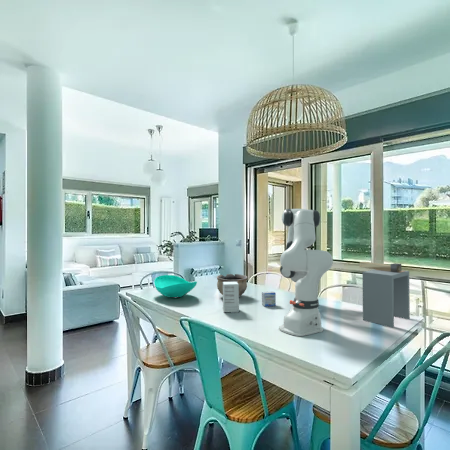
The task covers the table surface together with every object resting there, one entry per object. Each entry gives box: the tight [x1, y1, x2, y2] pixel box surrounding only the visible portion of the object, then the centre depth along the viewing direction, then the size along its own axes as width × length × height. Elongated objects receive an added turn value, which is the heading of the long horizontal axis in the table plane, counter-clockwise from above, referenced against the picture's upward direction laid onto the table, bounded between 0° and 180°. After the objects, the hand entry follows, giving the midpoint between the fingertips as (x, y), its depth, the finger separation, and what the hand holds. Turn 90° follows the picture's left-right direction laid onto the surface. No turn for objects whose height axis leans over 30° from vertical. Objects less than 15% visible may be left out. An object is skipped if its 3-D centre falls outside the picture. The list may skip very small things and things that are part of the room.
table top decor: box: [153, 274, 198, 298], centre depth 218 cm, size 40×28×13 cm
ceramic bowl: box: [216, 273, 248, 297], centre depth 217 cm, size 22×22×15 cm
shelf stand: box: [362, 269, 411, 328], centre depth 163 cm, size 22×15×26 cm
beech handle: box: [359, 261, 402, 272], centre depth 170 cm, size 5×22×4 cm, turn 31°
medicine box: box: [261, 291, 277, 308], centre depth 193 cm, size 8×4×9 cm, turn 106°
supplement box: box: [222, 282, 240, 313], centre depth 182 cm, size 10×9×17 cm
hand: (326, 259), depth 186 cm, fingers open, 8 cm apart
